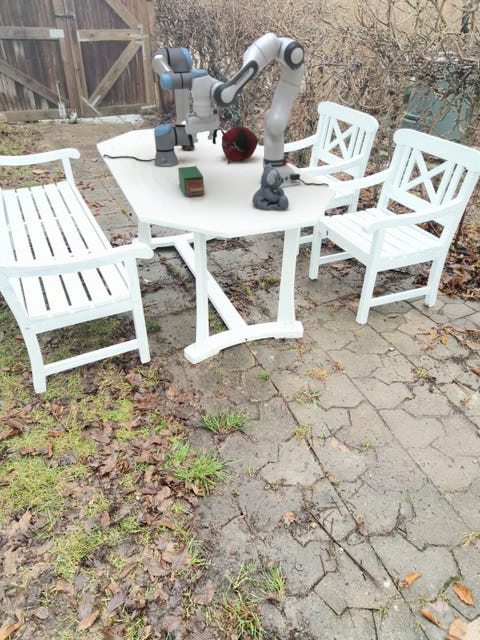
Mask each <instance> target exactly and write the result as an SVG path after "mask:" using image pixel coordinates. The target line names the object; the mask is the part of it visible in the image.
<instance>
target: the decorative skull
mask: <svg viewBox="0 0 480 640" xmlns="http://www.w3.org/2000/svg"><path fill="white" fill-rule="evenodd" d="M220 133H221V134H222V135H221V148H222V152H223V154H224V156H225V159H226V160H227V164H228V165H229V164H230V161H232V162H244V161H246V160H248V159H250V158H251V157H252V156H253V155H254V153H255V152H256V149H257V146H258V143H259V142H258V141H259V140H258V137H257V135H256V134H255V133H254V132H253V131H252V130H250V129H249V128H248V127H244V126H234V127H232V128H230V129H228V130H227V131H226V132H225V131H224V130H223V129H220Z"/></svg>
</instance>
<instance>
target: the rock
mask: <svg viewBox="0 0 480 640" xmlns="http://www.w3.org/2000/svg"><path fill="white" fill-rule="evenodd" d="M195 146H196V145H195V143H194V144H193V147H191V146H190V145H182V146H180V147H181V148H182V150H184V151H187V150H191V151H192V150H195V149H196V147H195Z"/></svg>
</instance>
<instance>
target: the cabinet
mask: <svg viewBox="0 0 480 640" xmlns="http://www.w3.org/2000/svg"><path fill="white" fill-rule="evenodd" d="M177 170H178V172H177V173H178V180H179V184H178V185H179V187H180V189H181V191H182V193H183V195H184V197H188V196H187V193H186V180H187V179H198V178H200V179H203V180H204V175H203V174H202V172H201V170H200V169H199V168H198V167H197V165H196V166H195V165H194V166H183V167H178V168H177ZM204 188H205V187H204V183H203V189H204ZM204 190H205V189H204ZM194 196H196V195H193V196H192V197H194ZM202 196H205V193H204V194H203V195H202Z"/></svg>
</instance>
